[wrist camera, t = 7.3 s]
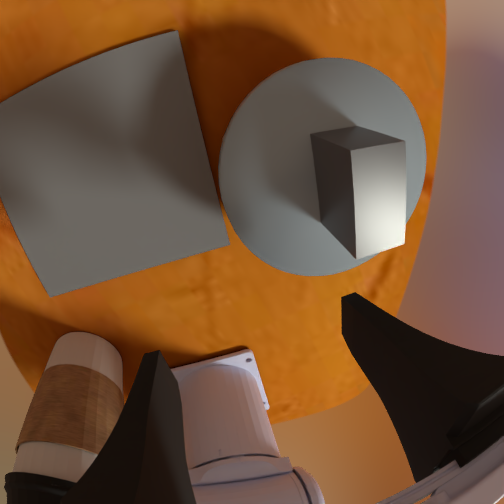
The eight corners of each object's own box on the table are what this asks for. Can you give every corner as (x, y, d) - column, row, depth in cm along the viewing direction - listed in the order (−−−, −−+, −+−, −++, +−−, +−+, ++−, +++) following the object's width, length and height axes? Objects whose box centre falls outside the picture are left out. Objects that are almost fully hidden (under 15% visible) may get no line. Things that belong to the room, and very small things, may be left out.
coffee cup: (22, 329, 20) (-28, 502, 7) (109, 307, 21) (87, 525, 8) (73, 394, 24) (61, 544, 11) (153, 380, 25) (167, 551, 12)
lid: (414, 238, 18) (459, 275, 15) (245, 292, 17) (266, 350, 14) (409, 56, 13) (471, 59, 9) (192, 79, 12) (199, 74, 8)
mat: (229, 241, 20) (230, 244, 20) (51, 294, 19) (50, 297, 19) (177, 31, 13) (177, 30, 13) (-22, 118, 12) (-25, 119, 12)
